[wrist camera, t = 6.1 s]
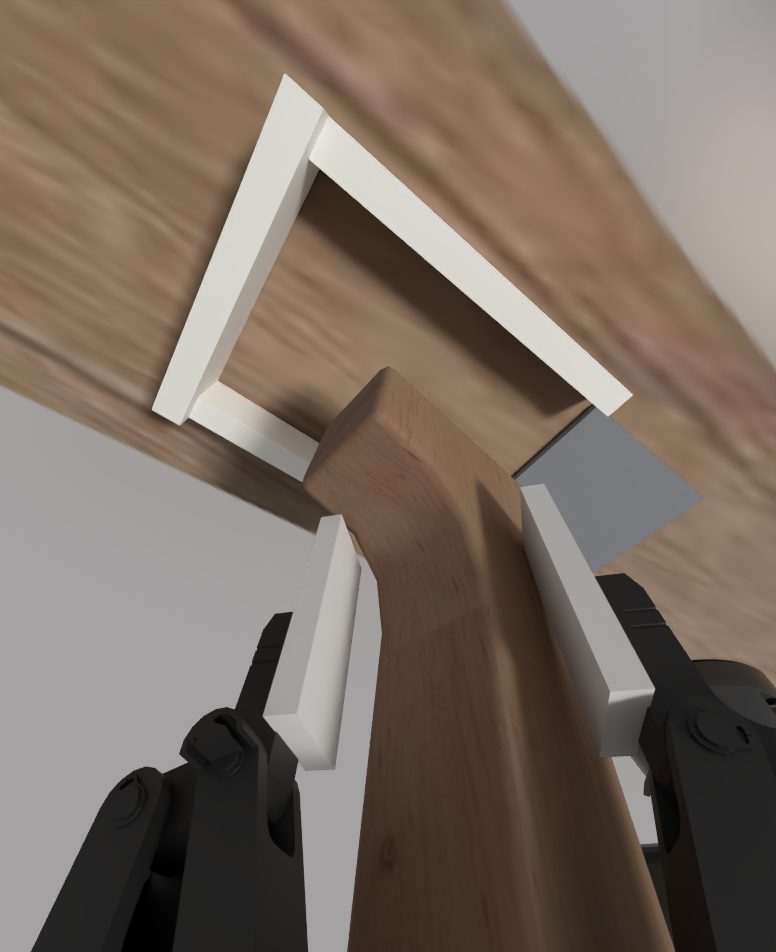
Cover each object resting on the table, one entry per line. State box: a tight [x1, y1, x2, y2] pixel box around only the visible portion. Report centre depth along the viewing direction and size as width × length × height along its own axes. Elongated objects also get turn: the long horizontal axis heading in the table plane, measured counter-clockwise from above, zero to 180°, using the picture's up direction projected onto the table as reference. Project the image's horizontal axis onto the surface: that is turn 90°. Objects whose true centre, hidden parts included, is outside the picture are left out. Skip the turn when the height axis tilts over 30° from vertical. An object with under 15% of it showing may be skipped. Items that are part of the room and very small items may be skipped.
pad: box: [513, 405, 705, 573], centre depth 26 cm, size 11×12×1 cm
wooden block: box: [302, 367, 675, 952], centre depth 11 cm, size 9×4×18 cm, turn 48°
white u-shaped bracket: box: [152, 74, 633, 482], centre depth 20 cm, size 20×15×4 cm
